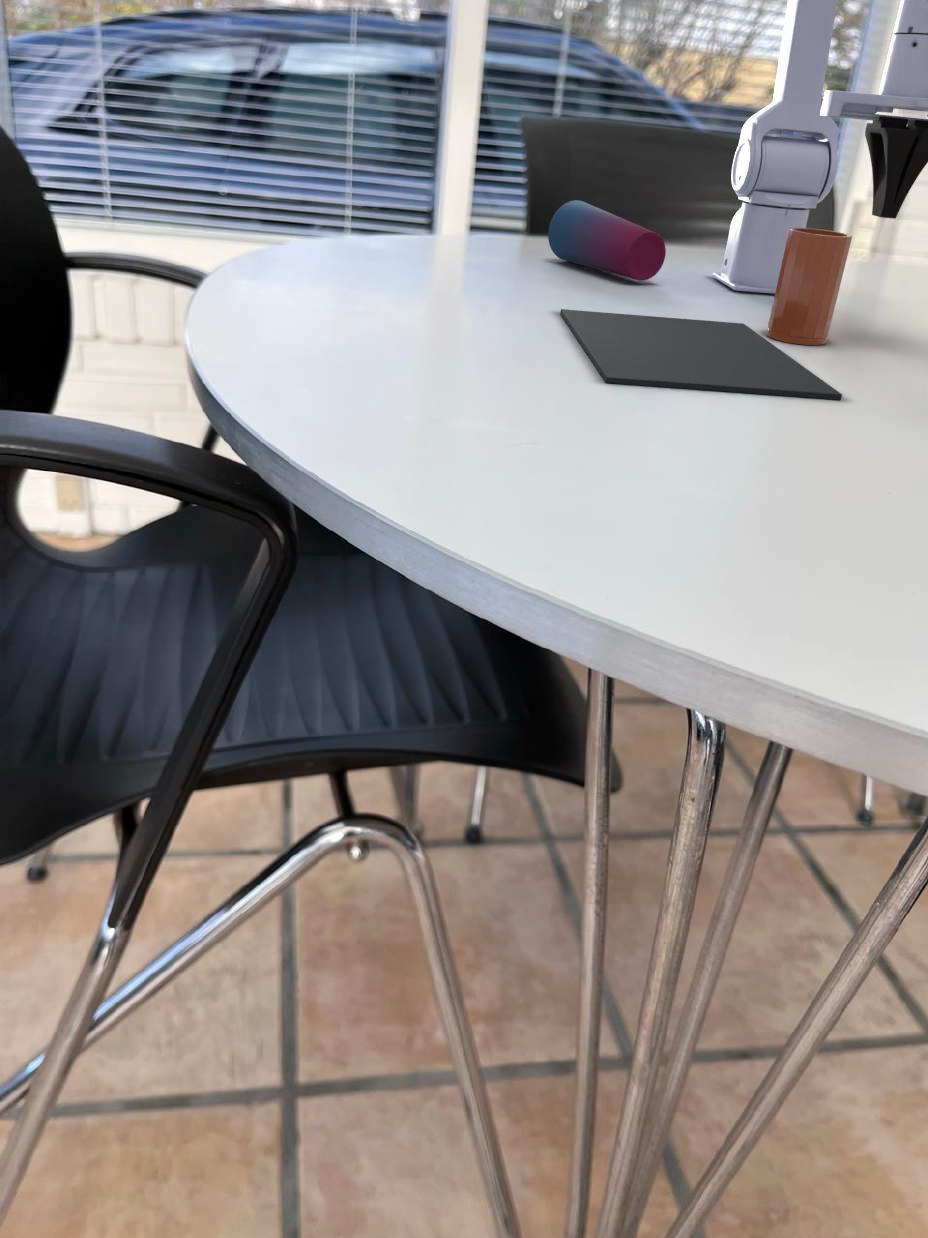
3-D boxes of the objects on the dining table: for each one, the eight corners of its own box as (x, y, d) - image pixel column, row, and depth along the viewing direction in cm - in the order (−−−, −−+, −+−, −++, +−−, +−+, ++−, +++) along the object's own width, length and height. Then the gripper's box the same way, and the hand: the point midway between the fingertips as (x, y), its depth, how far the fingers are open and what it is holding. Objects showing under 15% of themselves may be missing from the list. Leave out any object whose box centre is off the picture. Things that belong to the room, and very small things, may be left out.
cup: (674, 278, 112) (599, 251, 124) (671, 215, 108) (594, 193, 120) (622, 296, 111) (551, 267, 122) (617, 232, 107) (544, 208, 118)
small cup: (758, 329, 94) (781, 225, 89) (813, 334, 94) (838, 230, 90) (777, 342, 89) (801, 233, 85) (834, 347, 89) (861, 238, 85)
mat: (560, 313, 92) (560, 308, 92) (742, 327, 94) (743, 323, 94) (606, 382, 71) (606, 376, 71) (841, 399, 73) (842, 394, 72)
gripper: (862, 25, 79) (819, 214, 85) (1041, 44, 80) (986, 229, 86) (829, 30, 85) (791, 205, 91) (995, 47, 86) (947, 219, 92)
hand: (883, 216), depth 89 cm, fingers closed
